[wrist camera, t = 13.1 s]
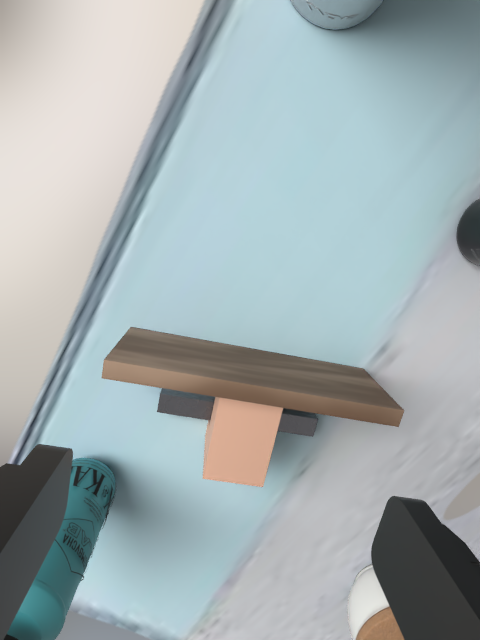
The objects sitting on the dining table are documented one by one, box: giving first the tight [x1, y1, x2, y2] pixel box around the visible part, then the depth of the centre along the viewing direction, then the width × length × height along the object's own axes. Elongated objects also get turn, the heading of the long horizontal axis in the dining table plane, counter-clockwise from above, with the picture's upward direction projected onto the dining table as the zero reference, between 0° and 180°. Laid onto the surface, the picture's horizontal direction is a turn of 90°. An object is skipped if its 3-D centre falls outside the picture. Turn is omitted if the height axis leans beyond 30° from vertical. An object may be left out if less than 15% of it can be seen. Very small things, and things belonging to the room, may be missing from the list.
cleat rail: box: [157, 388, 318, 436], centre depth 39 cm, size 2×16×2 cm, turn 78°
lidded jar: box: [347, 565, 404, 640], centre depth 42 cm, size 11×11×9 cm
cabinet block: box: [203, 397, 283, 487], centre depth 36 cm, size 8×6×7 cm
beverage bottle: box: [4, 458, 116, 640], centre depth 31 cm, size 6×7×20 cm
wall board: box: [102, 327, 404, 427], centre depth 34 cm, size 2×24×9 cm, turn 78°
